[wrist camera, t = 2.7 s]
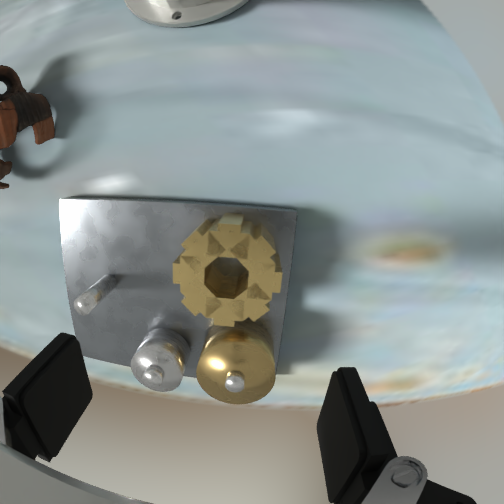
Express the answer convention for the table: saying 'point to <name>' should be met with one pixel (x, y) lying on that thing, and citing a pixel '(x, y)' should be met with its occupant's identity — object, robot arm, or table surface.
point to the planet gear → (227, 287)
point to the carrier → (166, 295)
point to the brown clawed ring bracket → (21, 115)
